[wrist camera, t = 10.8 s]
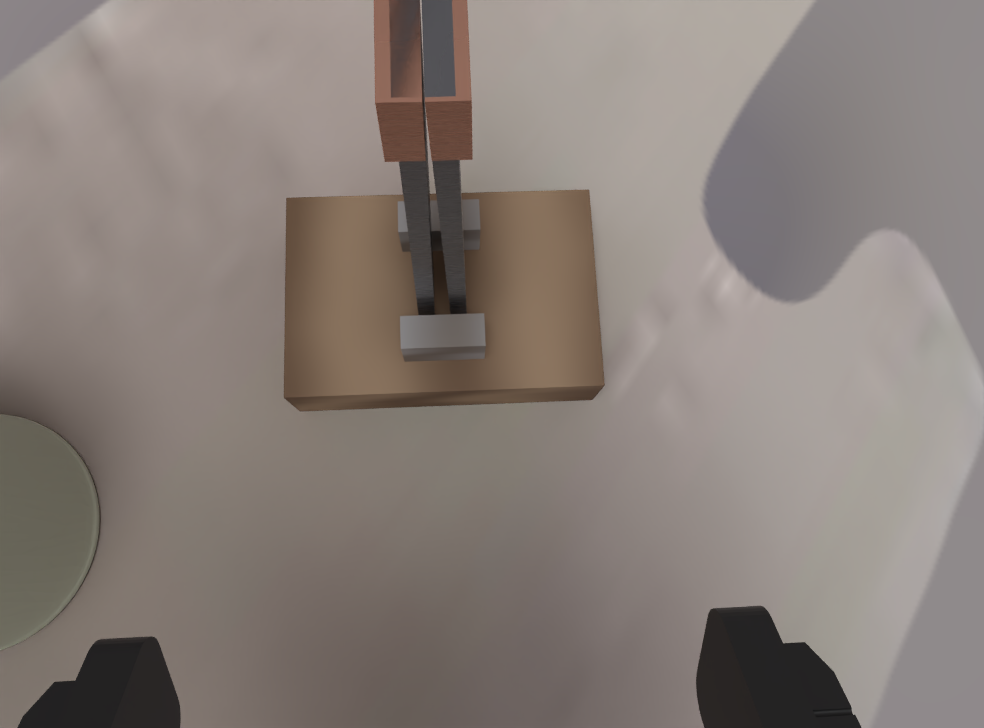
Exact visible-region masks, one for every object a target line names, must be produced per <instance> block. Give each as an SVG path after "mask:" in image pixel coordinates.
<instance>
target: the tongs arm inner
mask: <svg viewBox="0 0 984 728" xmlns="http://www.w3.org/2000/svg"><path fill="white" fill-rule="evenodd" d="M374 48H375V104H376V110H377V116H378V122H379V128H380V134H381V141H382V147H383V153H384V159H385V162H399V165H400V173H401V181H402V189H403V197H404V204H405V212H406V220H407V228H408V236H409V244H410V252H411V259H412V267H413V275H414V283H415V291H416V299H417V306H418V314H419V315H435V302H434V270H433V245H432V226H431V206H430V187H429V168H428V149H427V130H426V111H425V92H424V73H423V52H422V33H421V14H420V0H374Z"/></svg>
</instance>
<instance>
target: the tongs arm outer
mask: <svg viewBox="0 0 984 728" xmlns="http://www.w3.org/2000/svg"><path fill="white" fill-rule="evenodd" d="M422 23H423V57H424V90H425V107H426V116H427V124H428V132H429V141H430V149H431V157H432V162H433V171H434V179H435V188H436V196H437V204H438V213H439V221H440V229H441V238H442V246H443V255H444V263H445V271H446V280H447V288H448V296H449V305H450V313H451V314H467V307H466V282H465V257H464V236H463V215H462V194H461V174H460V160H472V100H471V77H470V55H469V32H468V10H467V0H422Z"/></svg>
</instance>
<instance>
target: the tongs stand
mask: <svg viewBox="0 0 984 728" xmlns="http://www.w3.org/2000/svg"><path fill="white" fill-rule="evenodd" d="M461 194H462V215H463V236H464V257H465V282H466V307H467V314H451V313H450V305H449V296H448V288H447V280H446V271H445V263H444V255H443V246H442V238H441V229H440V221H439V213H438V204H437V196H436V194H430V206H431V226H432V245H433V270H434V302H435V315H419V314H418V306H417V299H416V291H415V283H414V275H413V267H412V259H411V252H410V244H409V236H408V228H407V220H406V212H405V204H404V197H403V195H375V196H339V197H302V198H286V275H285V351H284V398H285V399H286V400H287V401H289V402H290V403H291V404H292V405H293V406H294V407H296V408H297V409H298V410H299V411H318V410H344V409H369V408H395V407H421V406H446V405H472V404H497V403H523V402H549V401H574V400H592V399H593V398H594V397H595V396H596V395H597V394H598V392H599V391H600V390H601V389H602V388H603V387H604V385H605V384H604V372H603V359H602V346H601V334H600V321H599V309H598V296H597V283H596V271H595V258H594V245H593V233H592V220H591V207H590V195H589V190H558V191H521V192H485V193H461Z"/></svg>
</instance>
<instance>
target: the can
mask: <svg viewBox="0 0 984 728" xmlns="http://www.w3.org/2000/svg"><path fill="white" fill-rule="evenodd" d="M98 534H99V504H98V498H97V493H96V489H95V486H94V483H93V480H92V477H91V475H90V473H89V471H88V469H87V467H86V465H85V463H84V462H83V460H82V459H81V458H80V456H79V455H78V453H77V452H76V451H75V450H74V449H73V448H72V446H71V445H70V444H69V443H68V442H67V441H65V440H64V439H63V438H62V437H60V436H59V435H58V434H57V433H55V432H53V431H52V430H50V429H49V428H47V427H45V426H43V425H41V424H39V423H37V422H34V421H31V420H28V419H25V418H21V417H17V416H11V415H4V414H0V650H3V649H6V648H9V647H11V646H13V645H15V644H18V643H20V642H22V641H24V640H25V639H27V638H29V637H30V636H32V635H34V634H35V633H37V632H38V631H39V630H41V629H42V628H43V627H45V626H46V625H47V624H48V623H49V622H51V621H52V620H53V619H54V618H55V617H56V616H57V615H58V614H59V613H60V612H61V611H62V610H63V609H64V608H65V606H66V605H67V604H68V603H69V602H70V600H71V599H72V598H73V596H74V595H75V594H76V592H77V590H78V589H79V587H80V586H81V584H82V582H83V580H84V579H85V577H86V574H87V572H88V570H89V568H90V565H91V562H92V559H93V557H94V554H95V550H96V546H97V541H98Z"/></svg>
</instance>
